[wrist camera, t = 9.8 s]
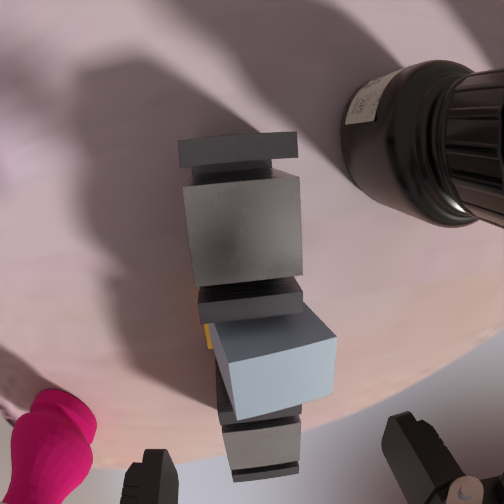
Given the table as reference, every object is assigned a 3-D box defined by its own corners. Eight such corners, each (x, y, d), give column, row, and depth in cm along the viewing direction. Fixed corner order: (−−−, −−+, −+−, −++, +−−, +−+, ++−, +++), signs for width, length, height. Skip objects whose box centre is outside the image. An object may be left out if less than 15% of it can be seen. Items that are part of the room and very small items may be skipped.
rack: (184, 144, 18) (167, 142, 11) (267, 137, 18) (296, 131, 12) (222, 414, 24) (227, 483, 18) (280, 407, 25) (298, 473, 18)
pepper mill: (116, 418, 23) (78, 630, 5) (83, 447, 24) (46, 617, 6) (46, 370, 21) (-45, 574, 2) (23, 406, 22) (-47, 570, 3)
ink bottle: (437, 75, 18) (571, 55, 6) (456, 191, 21) (585, 234, 9) (316, 83, 17) (438, 22, 6) (345, 220, 20) (470, 301, 9)
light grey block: (203, 293, 19) (228, 363, 12) (281, 279, 20) (337, 336, 14) (211, 342, 20) (237, 420, 14) (283, 327, 21) (332, 394, 15)
